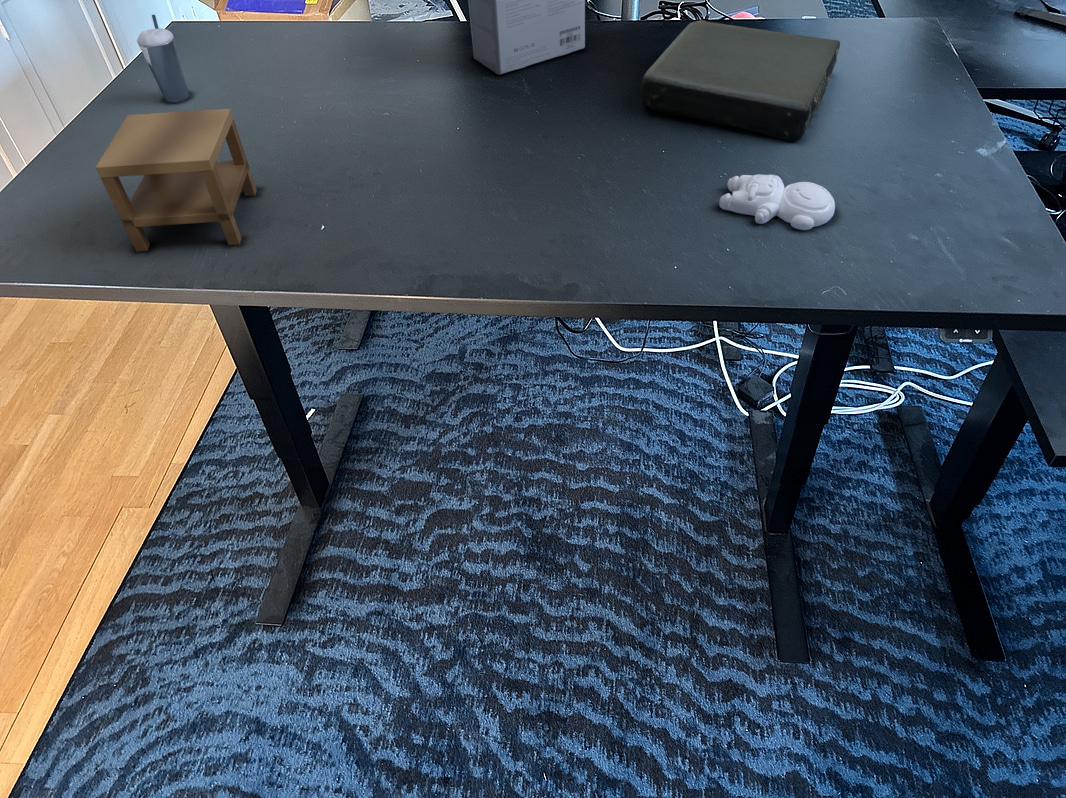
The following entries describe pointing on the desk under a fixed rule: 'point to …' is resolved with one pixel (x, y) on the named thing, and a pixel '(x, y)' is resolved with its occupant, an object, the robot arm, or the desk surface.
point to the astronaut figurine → (779, 200)
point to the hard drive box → (525, 31)
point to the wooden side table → (177, 171)
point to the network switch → (742, 78)
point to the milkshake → (164, 62)
